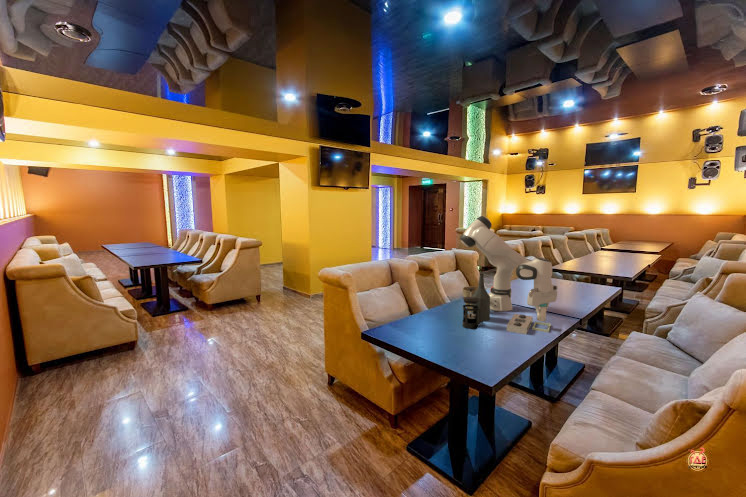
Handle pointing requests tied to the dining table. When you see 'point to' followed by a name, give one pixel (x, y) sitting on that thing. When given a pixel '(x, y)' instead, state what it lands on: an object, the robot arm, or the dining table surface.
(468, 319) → the french press
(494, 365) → the dining table surface
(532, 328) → the tray
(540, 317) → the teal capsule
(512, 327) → the white slotted holder
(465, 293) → the plant pot
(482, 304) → the bottle
